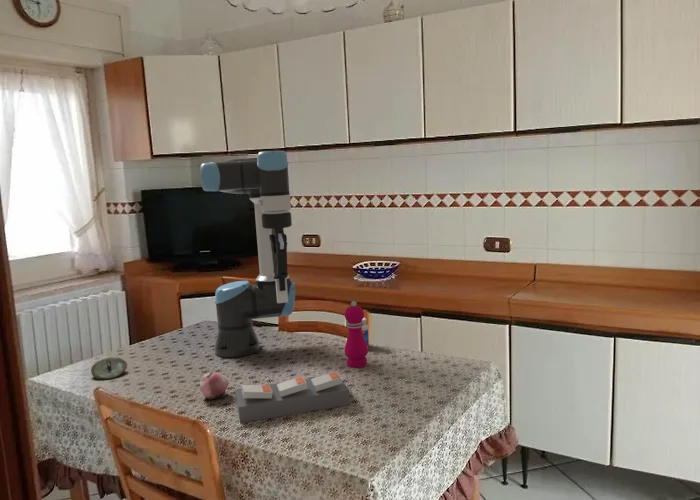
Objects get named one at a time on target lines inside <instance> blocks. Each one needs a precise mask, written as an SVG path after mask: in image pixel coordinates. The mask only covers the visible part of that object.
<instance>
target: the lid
mask: <svg viewBox="0 0 700 500" xmlns="http://www.w3.org/2000/svg"><path fill="white" fill-rule="evenodd" d="M127 368H128V363H127V361H125V360H124V359H122V358H119V357H111V356H110V357H107V358H102V359H101V360H99V361H96V362H95V363H94V364H93V365H92V366H91V368H90V373H91V375H92V377H94V378H95V379H96V380H102V379H106V380H111V379H115V378H117V377H120V376H121V375H122V374H123V373H124V372H125V371H126V370H127Z"/></svg>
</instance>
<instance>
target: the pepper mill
mask: <svg viewBox="0 0 700 500" xmlns="http://www.w3.org/2000/svg"><path fill="white" fill-rule="evenodd" d="M363 318H365V311H364V309H363V308H362V307H361V306H359V305H358V304H357V302H356V301H355V300H353V301H351V302H350V306H348V307H347V308H346V309H345V310H344V319H345V320H346V321H347V322H346V328H348V329H347V330H348V334H347V335H348V336H347V339H346V342H345V345H344V354H345V357H347V358H346V366H347V367H349V368H351V369H353V368H354V369H358V368H364V367H366V366H367V365H368V358H367V355H368V353H369V347H367V344H366V342H365V340H364V338H363V334H362V326H363V321H362V319H363Z"/></svg>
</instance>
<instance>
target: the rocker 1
mask: <svg viewBox="0 0 700 500" xmlns="http://www.w3.org/2000/svg"><path fill="white" fill-rule="evenodd" d="M241 389H242V394H243V398H269V399H272V390H271V387H270V384H242V385H241Z"/></svg>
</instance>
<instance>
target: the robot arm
mask: <svg viewBox="0 0 700 500" xmlns="http://www.w3.org/2000/svg"><path fill="white" fill-rule="evenodd" d="M199 172H200V181H201V188H202V190H203V191H204V192H221V193H227V194H232V195H233V194H235V195H239V194H240V195H241V194H242V195H243V194H248V198H249V199H248V200H250V201H251V202H252V203H253V205H254V219H255V229H256V242H257V243H256V244H257V254H258V255H257V256H258V266H259V269H258V270H259V274H258V275H257V277H256V278H255V284H251V283H250V281H248V280H239V281H233V282H229V283H225V284H222V285H220V286H219V287H217V288H216V290H215V294H214V295H215V301H214V304H215V305H216V306H215V307H216V317H217V319H216V320H217V334H216V338H215V342H214V343H215V344H214V354H215V355H216V356H217V357H222V358H239V357H240V358H241V357H245V356H249V355H252V354H255V353H257V352H258V351H259V350H260V349H261V348H260V347H261V346H260V341H259V338H258V335H257V333H256V331H255V329H254V323H253V320H259V319H268V318H277V317H278V318H280V317H285V316H291V315H292V313H293V312H294V310H295V302H296V284H295V281H292V280H291V276H290V275H289V273H288V252H287V251H288V249H287V248H288V242H287V241H288V238H287V234H285V231H284V228H285V229H286V228H290V227H292V225H293V223H292V212H290V211H291V209H292V207H291V206H292V204H291V194H290V193H291V192H290V183H289V181H290V180H289V162H288V154H287V152H286V151H284V150H266V151H259V152H258V154H257V155H256V157H249V158H233V159H228V160H225V161H219V162H218V161H217V162H215V161H210V162H204V163H203V162H202V164H201V165H200V171H199Z"/></svg>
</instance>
